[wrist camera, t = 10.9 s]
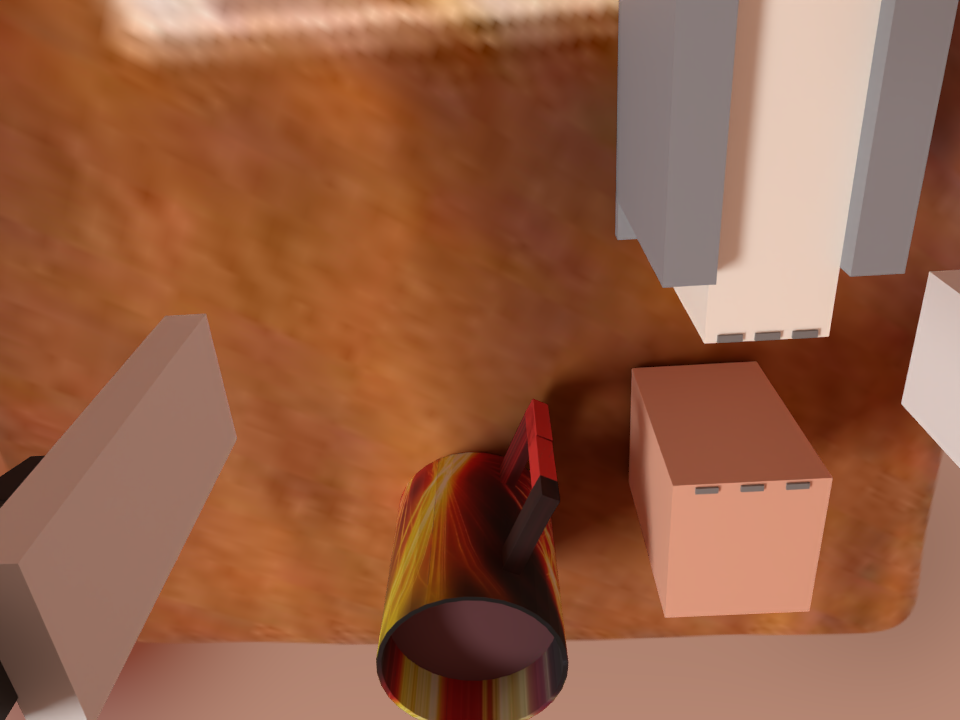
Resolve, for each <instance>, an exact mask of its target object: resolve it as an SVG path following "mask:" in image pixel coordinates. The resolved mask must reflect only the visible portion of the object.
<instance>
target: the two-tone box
mask: <svg viewBox="0 0 960 720" xmlns="http://www.w3.org/2000/svg"><path fill="white" fill-rule="evenodd" d="M958 1H959V0H619V34H618V100H617V165H616V231H615V235H616V237H617V239H618V240H625V239H638V241H639V243H640V245H641V246H642V248H643V250H644V252H645V254H646V256H647V258H648V260H649V262H650V264H651V266H652V268H653V270H654V271H655V273H656V275H657V277H658V279H659V281H660V283H661V285H662V287H663V288H665V287H673V288H674V290H675V291H676V293H677V295H678V297H679V299H680V300H681V302H682V304H683V306H684V308H685V309H686V311H687V313H688V315H689V317H690V318H691V320H692V322H693V324H694V326H695V328H696V329H697V331H698V333H699V335H700V337H701V338H702V340H703V342H704V344H705V343H728V342H743V341H764V340H780V339H800V338H817V337H829V333H830V326H831V320H832V314H833V307H834V301H835V294H836V288H837V282H838V275H839V269H840V268H841V269H843V270H844V271H845V272H846V273H847V274H848V275H849V276H850V277H853V276H870V275H887V274H905V269H906V264H907V259H908V253H909V248H910V243H911V238H912V233H913V228H914V223H915V218H916V213H917V208H918V203H919V198H920V193H921V188H922V183H923V178H924V173H925V168H926V163H927V158H928V152H929V147H930V142H931V137H932V132H933V127H934V122H935V117H936V112H937V107H938V102H939V97H940V92H941V87H942V82H943V77H944V72H945V67H946V62H947V57H948V51H949V46H950V41H951V36H952V31H953V26H954V21H955V16H956V11H957V6H958Z"/></svg>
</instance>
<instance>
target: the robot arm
mask: <svg viewBox="0 0 960 720" xmlns="http://www.w3.org/2000/svg"><path fill="white" fill-rule="evenodd" d="M901 404H902V405H903V406H904V407H905V408H906V410H907V411H908V412H909V413H910V414H911V415H912V416H913V417H914V418H915V419H916V421H917V422H918V423H919V424H920V425H921V426H922V427H923V428H924V429H925V430H926V432H927V433H928V434H929V435H930V436H931V437H932V438H933V439H934V440H935V441H936V443H937V444H938V445H939V446H940V447H941V448H942V449H943V450H944V451H945V452H946V454H947V455H948V456H949V457H950V458H951V459H952V460H953V461H954V462H955V463H956V464H957V466H958V467H959V468H960V270H947V271H930V272H929V276H928V280H927V285H926V290H925V294H924V299H923V304H922V308H921V313H920V318H919V322H918V327H917V332H916V336H915V341H914V346H913V351H912V355H911V360H910V365H909V369H908V374H907V379H906V383H905V388H904V393H903V397H902V402H901ZM236 440H237V437H236V433H235V429H234V425H233V421H232V417H231V413H230V409H229V405H228V401H227V397H226V393H225V389H224V385H223V381H222V377H221V373H220V369H219V365H218V361H217V357H216V353H215V349H214V345H213V341H212V337H211V332H210V328H209V324H208V320H207V316H206V314H194V315H176V316H165V317H164V318H163V319H162V320H161V321H160V323H159V324H158V325H157V326H156V327H155V328H154V330H153V331H152V332H151V333H150V334H149V335H148V337H147V338H146V339H145V340H144V341H143V342H142V344H141V345H140V346H139V347H138V348H137V349H136V351H135V352H134V353H133V354H132V355H131V356H130V358H129V359H128V360H127V361H126V362H125V363H124V365H123V366H122V367H121V368H120V369H119V370H118V372H117V373H116V374H115V375H114V376H113V377H112V379H111V380H110V381H109V382H108V383H107V384H106V386H105V387H104V388H103V389H102V390H101V391H100V393H99V394H98V395H97V396H96V397H95V398H94V400H93V401H92V402H91V403H90V404H89V405H88V407H87V408H86V409H85V410H84V411H83V412H82V414H81V415H80V416H79V417H78V418H77V419H76V421H75V422H74V423H73V424H72V425H71V426H70V428H69V429H68V430H67V431H66V432H65V433H64V435H63V436H62V437H61V438H60V439H59V440H58V442H57V443H56V444H55V445H54V446H53V447H52V449H51V450H50V451H49V452H48V453H47V454H46V456H31V457H29V458H28V459H26V460H25V461H23V462H22V463H20V464H19V465H17V466H16V467H14V468H13V469H11V470H10V471H8V472H7V473H5V474H4V475H2V476H1V477H0V720H5V719H6V717H7V715H8V714H9V712H10V710H11V709H12V707H13V706H14V704H15V702H16V701H17V702H18V705H19V707H20V709H21V710H22V713H23V714H24V717H25V719H26V720H97V718H98V716H99V714H100V712H101V710H102V708H103V706H104V704H105V702H106V700H107V698H108V696H109V694H110V692H111V690H112V688H113V686H114V684H115V682H116V680H117V678H118V676H119V674H120V672H121V670H122V668H123V666H124V664H125V662H126V660H127V658H128V656H129V654H130V652H131V650H132V648H133V646H134V644H135V642H136V640H137V638H138V636H139V634H140V632H141V630H142V628H143V626H144V624H145V622H146V620H147V618H148V616H149V614H150V612H151V610H152V608H153V606H154V604H155V602H156V600H157V598H158V596H159V594H160V592H161V590H162V588H163V586H164V584H165V582H166V580H167V578H168V576H169V574H170V572H171V570H172V568H173V566H174V564H175V562H176V560H177V558H178V556H179V554H180V552H181V550H182V548H183V546H184V544H185V542H186V540H187V538H188V536H189V534H190V532H191V530H192V528H193V526H194V524H195V522H196V520H197V518H198V516H199V514H200V512H201V510H202V508H203V506H204V504H205V502H206V500H207V498H208V496H209V494H210V492H211V490H212V488H213V486H214V484H215V482H216V480H217V478H218V476H219V474H220V472H221V470H222V468H223V466H224V464H225V462H226V460H227V458H228V456H229V454H230V452H231V450H232V448H233V446H234V444H235V442H236Z"/></svg>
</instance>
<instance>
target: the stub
mask: <svg viewBox="0 0 960 720" xmlns="http://www.w3.org/2000/svg"><path fill="white" fill-rule="evenodd" d="M832 479H833V478H832V476H831V475H830V473H829V472H828V470H827V469H826V467H825V465H824V464H823V462H822V461H821V459H820V458H819V456H818V455H817V453H816V452H815V450H814V449H813V447H812V446H811V444H810V442H809V441H808V439H807V438H806V436H805V435H804V433H803V432H802V430H801V429H800V427H799V426H798V424H797V423H796V421H795V420H794V418H793V416H792V415H791V413H790V412H789V410H788V409H787V407H786V406H785V404H784V403H783V401H782V400H781V398H780V397H779V395H778V394H777V392H776V390H775V389H774V387H773V386H772V384H771V383H770V381H769V380H768V378H767V377H766V375H765V374H764V372H763V371H762V369H761V367H760V366H759V364H758V363H757V361H753V362H735V363H716V364H698V365H680V366H662V367H644V368H632V382H631V418H630V454H629V485H630V489H631V493H632V497H633V500H634V504H635V508H636V511H637V515H638V519H639V523H640V526H641V530H642V534H643V537H644V541H645V545H646V549H647V552H648V556H649V560H650V563H651V567H652V571H653V575H654V578H655V582H656V586H657V590H658V593H659V597H660V601H661V604H662V608H663V612H664V616H665V618H667V617H690V616H712V615H735V614H758V613H780V612H803V611H809V610H810V604H811V599H812V593H813V587H814V581H815V576H816V570H817V564H818V559H819V553H820V547H821V541H822V536H823V530H824V524H825V519H826V513H827V507H828V502H829V496H830V490H831V484H832Z"/></svg>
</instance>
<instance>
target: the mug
mask: <svg viewBox="0 0 960 720" xmlns="http://www.w3.org/2000/svg"><path fill="white" fill-rule="evenodd" d="M552 441H553V438H552V431H551V423H550V416H549V409H548V404H545V403H543V402H540V401H538V400H535V399H532V401H531V403H530V405H529V406H528V408H527V410H526V412H525V414H524V416H523V418H522V421H521V423H520V425H519V427H518V429H517V431H516V433H515V435H514V437H513V440H512V442H511V444H510V446H509V448H508V450H507V452H506V454H505V456H504V457H502V456H499V455H494V454H489V453H480V452H467V453H460V454H453V455H450V456H447V457H444V458H440V459H438V460H436V461H434V462H432V463H430V464H429V465H427V466H425V467H424V468H423V469H422V470H420V471H419V472H418V473H417V474H415V476H414V477H413V478H412V479H411V480H410V482H409V483H408V484H407V486H406V488H405V490H404V492H403V494H402V496H401V501H400V505H399V511H398V518H397V525H396V531H395V538H394V545H393V551H392V558H391V565H390V571H389V578H388V585H387V591H386V598H385V604H384V611H383V618H382V624H381V631H380V638H379V644H378V652H377V658H376V663H377V674H378V677H379V680H380V683H381V686H382V687H383V689H384V690H385V692H386V694H387V695H388V697H389V698H390V699H391V700H392V701H393V702H394V703H395V704H396V705H397V706H398V707H399V708H401V709H402V710H403V711H405V712H406V713H408V714H409V715H411V716H412V717H414V718H416V719H419V720H528V719H530V718H532V717H533V716H534V715H536V714H538V713H540V712H541V711H543V710H544V709H545V708H546V707H547V706H548V705H549V704H550V703H552V702H553V701H554V699H555V698H556V697H557V695H558V694H559V692H560V691H561V690H562V688H563V685H564V683H565V680H566V677H567V671H568V656H567V648H566V639H565V631H564V622H563V614H562V605H561V597H560V588H559V580H558V571H557V563H556V554H555V546H554V537H553V529H552V520H551V516H552V514H553V512H554V511H555V509H556V507H557V506H558V504H559V503H560V496H559V489H558V482H557V475H556V467H555V460H554V453H553V445H552ZM528 459H529V463H530V471H528V470H527V469H526V468H525V465H526V463H527V461H528Z"/></svg>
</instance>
